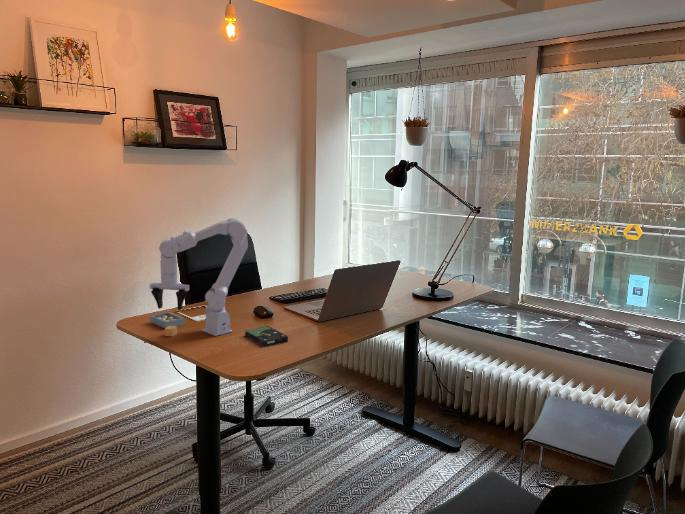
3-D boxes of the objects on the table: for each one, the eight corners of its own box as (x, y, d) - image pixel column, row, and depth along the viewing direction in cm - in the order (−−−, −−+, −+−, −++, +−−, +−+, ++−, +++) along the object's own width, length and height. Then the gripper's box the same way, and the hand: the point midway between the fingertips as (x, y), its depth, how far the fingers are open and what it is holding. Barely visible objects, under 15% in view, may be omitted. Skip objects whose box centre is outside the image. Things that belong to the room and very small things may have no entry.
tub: (184, 325, 212) (184, 318, 212) (165, 329, 206) (165, 322, 206) (168, 319, 220) (168, 311, 220) (150, 322, 214) (150, 315, 214)
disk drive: (288, 343, 197) (268, 332, 208) (288, 336, 197) (268, 325, 208) (264, 348, 191) (244, 337, 202) (264, 341, 190) (244, 329, 202)
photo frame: (196, 320, 218) (174, 310, 230) (196, 322, 218) (174, 313, 230) (227, 313, 228) (204, 305, 240) (227, 316, 228) (204, 307, 241)
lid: (191, 334, 204) (191, 325, 203) (181, 341, 196) (181, 332, 195) (160, 332, 205) (160, 323, 205) (149, 339, 197) (149, 329, 197)
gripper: (192, 271, 199) (193, 306, 202) (155, 269, 201) (156, 304, 203) (184, 275, 192) (185, 312, 195) (146, 273, 194) (147, 309, 196)
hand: (170, 308), depth 198 cm, fingers open, 7 cm apart
